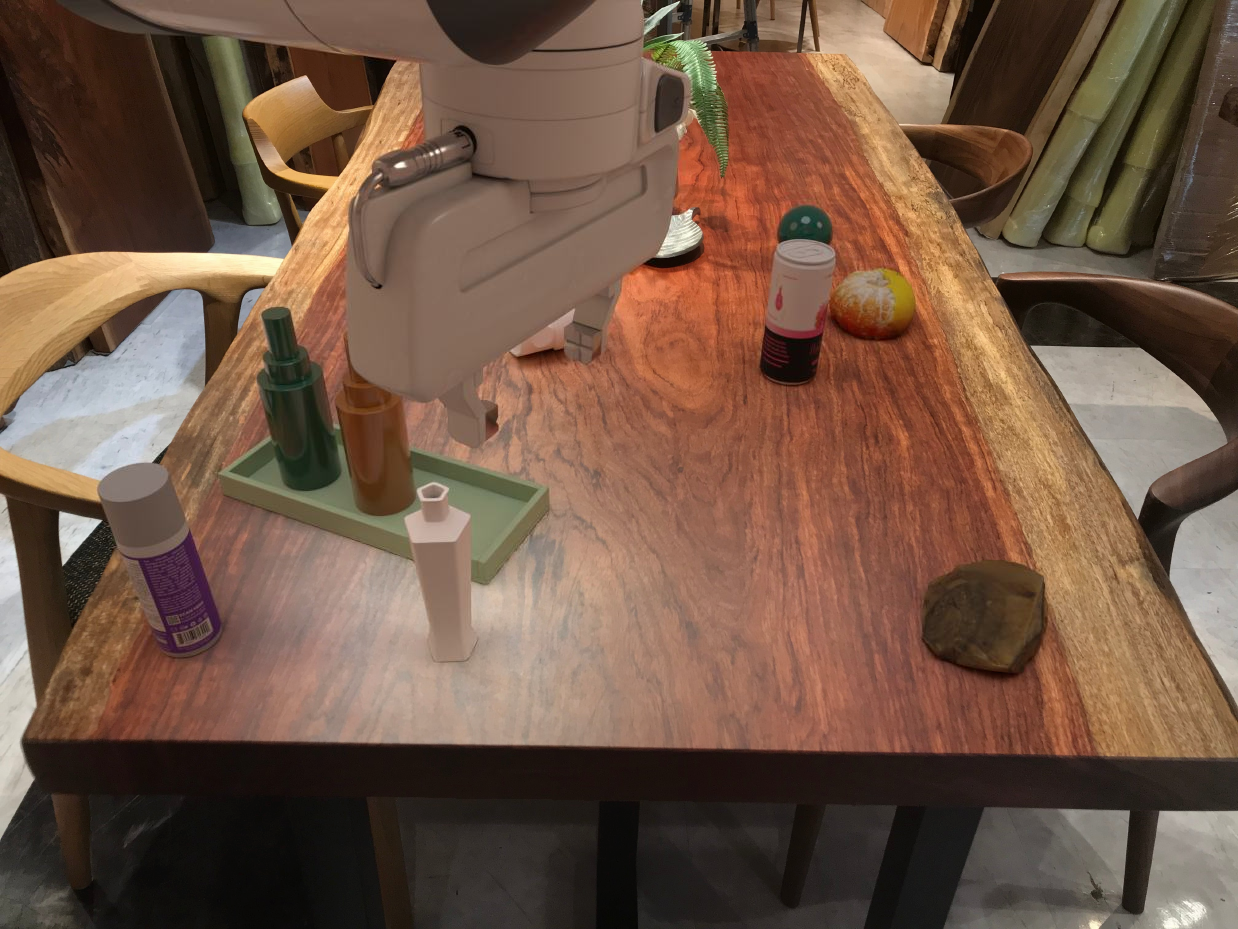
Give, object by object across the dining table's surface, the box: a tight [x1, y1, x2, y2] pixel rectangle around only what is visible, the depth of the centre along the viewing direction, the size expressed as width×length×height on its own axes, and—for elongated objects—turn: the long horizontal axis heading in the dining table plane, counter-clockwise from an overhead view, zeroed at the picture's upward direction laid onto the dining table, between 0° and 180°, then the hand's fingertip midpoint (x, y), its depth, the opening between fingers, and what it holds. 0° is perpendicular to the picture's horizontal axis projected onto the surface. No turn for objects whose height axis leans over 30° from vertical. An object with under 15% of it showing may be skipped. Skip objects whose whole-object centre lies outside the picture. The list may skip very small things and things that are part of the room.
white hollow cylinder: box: [509, 308, 575, 358], centre depth 107 cm, size 12×9×8 cm
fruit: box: [828, 267, 917, 341], centre depth 113 cm, size 11×10×8 cm
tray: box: [217, 422, 551, 586], centre depth 83 cm, size 28×11×2 cm, turn 66°
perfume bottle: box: [404, 482, 479, 663], centre depth 65 cm, size 5×4×15 cm
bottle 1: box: [256, 306, 342, 491], centre depth 81 cm, size 6×6×17 cm
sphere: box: [776, 203, 834, 247], centre depth 129 cm, size 8×8×8 cm
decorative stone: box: [921, 559, 1049, 674], centre depth 71 cm, size 10×9×4 cm
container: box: [96, 462, 223, 659], centre depth 65 cm, size 5×5×15 cm
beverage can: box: [759, 239, 837, 386], centre depth 100 cm, size 6×7×15 cm
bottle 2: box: [334, 330, 416, 516], centre depth 78 cm, size 6×6×17 cm
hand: (533, 394), depth 45 cm, fingers open, 8 cm apart
